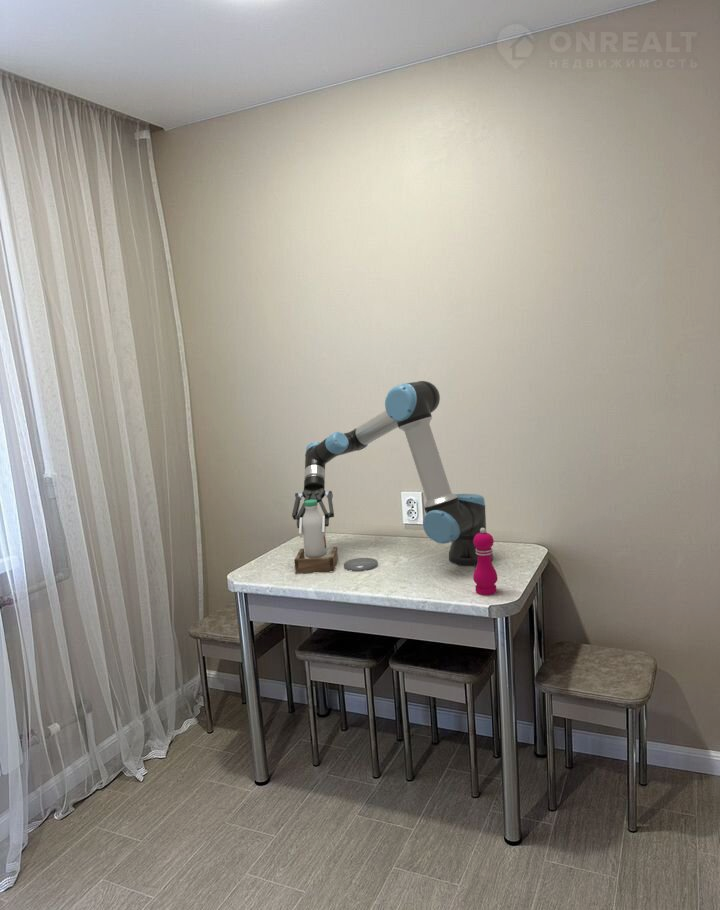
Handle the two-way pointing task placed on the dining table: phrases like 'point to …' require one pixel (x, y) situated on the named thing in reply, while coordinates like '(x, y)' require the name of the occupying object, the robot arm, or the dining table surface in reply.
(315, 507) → the milk bottle
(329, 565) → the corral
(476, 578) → the pepper mill
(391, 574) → the dining table surface
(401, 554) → the dining table surface
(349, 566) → the coaster
